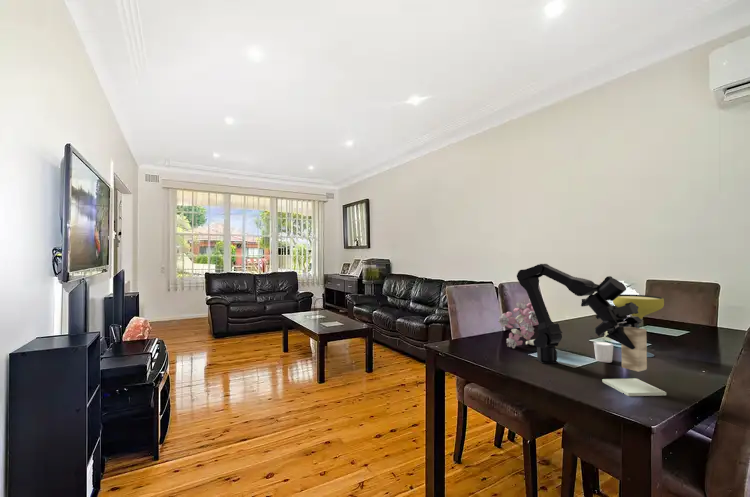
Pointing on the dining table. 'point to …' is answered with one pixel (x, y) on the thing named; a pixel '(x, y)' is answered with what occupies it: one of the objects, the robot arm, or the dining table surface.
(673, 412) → the dining table surface
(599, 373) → the dining table surface
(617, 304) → the cocktail glass
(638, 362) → the birch block
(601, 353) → the shot glass
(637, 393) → the coaster board
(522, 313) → the flower
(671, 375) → the dining table surface
